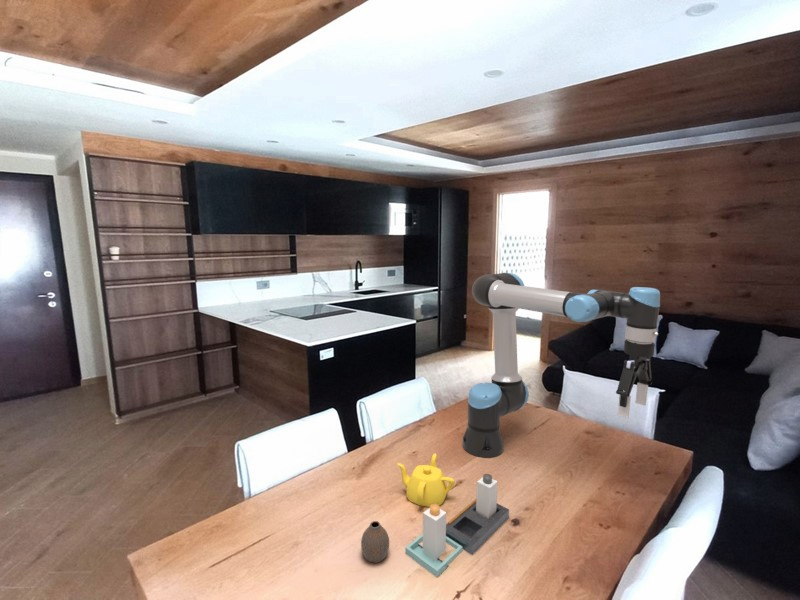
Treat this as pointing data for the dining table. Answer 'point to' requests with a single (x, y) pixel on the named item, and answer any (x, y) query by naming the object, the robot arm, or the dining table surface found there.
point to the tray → (434, 567)
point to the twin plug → (486, 496)
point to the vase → (375, 542)
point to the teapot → (426, 484)
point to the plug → (434, 532)
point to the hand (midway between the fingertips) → (632, 410)
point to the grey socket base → (474, 527)
